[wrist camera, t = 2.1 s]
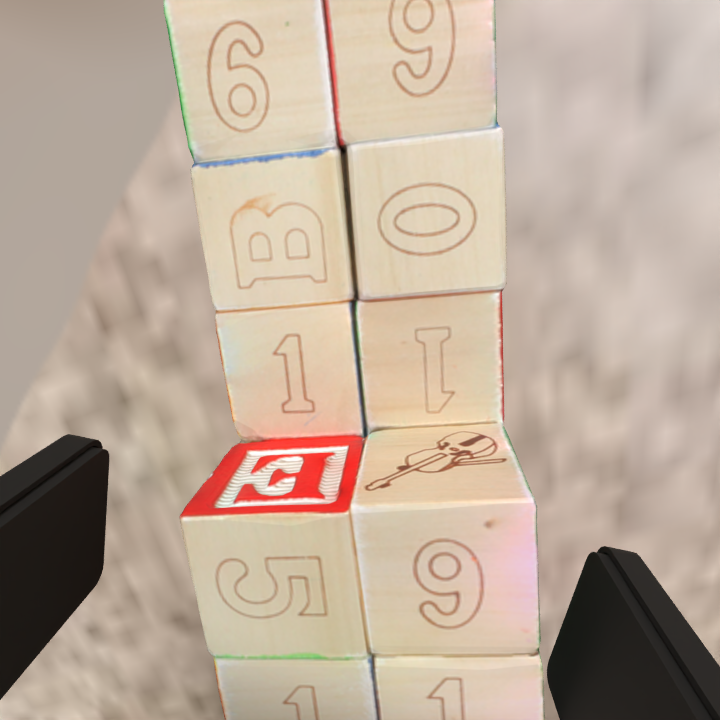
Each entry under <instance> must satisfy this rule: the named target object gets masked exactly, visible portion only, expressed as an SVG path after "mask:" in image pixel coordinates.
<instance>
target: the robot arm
mask: <svg viewBox="0 0 720 720" xmlns="http://www.w3.org/2000/svg"><path fill="white" fill-rule="evenodd" d="M108 473H109V453H108V451H107V450H105V449H102V444H101V442H100V441H99V440H95V439H90V438H85V437H80V436H75V435H69V434H68V435H65V436H63V437H61V438H60V439H58V440H57V441H55V442H54V443H52V444H50V445H49V446H47V447H46V448H44V449H43V450H41V451H39V452H38V453H36V454H35V455H33V456H32V457H30V458H28V459H27V460H25V461H24V462H22V463H21V464H19V465H17V466H16V467H14V468H13V469H11V470H10V471H8V472H6V473H5V474H3V475H2V476H0V700H1V698H2V697H3V696H4V695H5V694H6V692H7V691H8V690H9V689H10V688H11V686H12V685H13V684H14V683H15V682H16V680H17V679H18V678H19V677H20V676H21V675H22V673H23V672H24V671H25V670H26V669H27V667H28V666H29V665H30V664H31V663H32V661H33V660H34V659H35V658H36V657H37V655H38V654H39V653H40V652H41V651H42V649H43V648H44V647H45V646H46V645H47V643H48V642H49V641H50V640H51V639H52V637H53V636H54V635H55V634H56V633H57V631H58V630H59V629H60V628H61V627H62V625H63V624H64V623H65V622H66V621H67V619H68V618H69V617H70V616H71V615H72V613H73V612H74V611H75V610H76V609H77V607H78V606H79V605H80V604H81V603H82V601H83V600H84V599H85V598H86V597H87V596H88V594H89V593H90V592H91V591H92V590H93V588H94V587H95V586H96V584H97V582H98V581H99V579H100V576H101V574H102V570H103V564H104V546H105V527H106V509H107V491H108ZM547 678H548V684H549V688H550V691H551V694H552V697H553V700H554V703H555V706H556V709H557V712H558V715H559V718H560V720H720V666H719V665H718V664H717V662H716V661H715V660H714V658H713V657H712V655H711V654H710V653H709V651H708V650H707V649H706V647H705V646H704V644H703V643H702V642H701V640H700V639H699V637H698V636H697V635H696V633H695V632H694V631H693V629H692V628H691V626H690V625H689V624H688V622H687V621H686V620H685V618H684V617H683V615H682V614H681V613H680V611H679V610H678V608H677V607H676V606H675V604H674V603H673V602H672V600H671V599H670V597H669V596H668V595H667V593H666V592H665V591H664V589H663V588H662V586H661V585H660V584H659V582H658V581H657V579H656V578H655V577H654V575H653V574H652V573H651V571H650V570H649V568H648V567H647V566H646V564H645V563H644V562H643V560H642V559H641V557H640V556H639V555H638V554H637V553H634V552H630V551H625V550H620V549H615V548H611V547H606V546H604V547H601V548H600V549H599V550H598V552H597V553H596V552H591V553H590V554H589V555H588V557H587V559H586V562H585V565H584V567H583V570H582V573H581V575H580V578H579V581H578V584H577V586H576V589H575V592H574V594H573V597H572V600H571V602H570V605H569V608H568V610H567V613H566V616H565V619H564V621H563V624H562V627H561V629H560V632H559V635H558V637H557V640H556V643H555V645H554V648H553V651H552V654H551V656H550V659H549V662H548V667H547Z"/></svg>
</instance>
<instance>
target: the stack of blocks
mask: <svg viewBox="0 0 720 720" xmlns="http://www.w3.org/2000/svg"><path fill="white" fill-rule="evenodd" d="M164 14H165V18H166V23H167V28H168V34H169V40H170V46H171V51H172V57H173V62H174V68H175V74H176V79H177V85H178V90H179V97H180V104H181V110H182V116H183V121H184V126H185V130H186V135H187V140H188V147H189V149H190V152H191V155H192V157H193V160H194V164H193V166H192V168H191V180H192V187H193V192H194V198H195V203H196V209H197V215H198V222H199V228H200V234H201V239H202V245H203V250H204V256H205V261H206V266H207V272H208V278H209V285H210V292H211V297H212V302H213V306H214V308H215V310H216V319H215V322H216V333H217V337H218V343H219V349H220V355H221V361H222V366H223V371H224V376H225V381H226V386H227V391H228V397H229V402H230V407H231V413H232V418H233V422H234V425H235V427H236V430H237V433H238V435H239V437H240V439H241V441H240V443H239V444H237V445H235V446H234V447H232V448H231V450H230V451H229V452H228V453H227V454H226V455H225V456H224V458H223V459H222V461H221V463H220V464H219V465H218V467H217V468H216V469H215V471H214V472H213V473H212V474H211V475H210V476H209V477H208V479H207V481H206V482H205V483H204V484H203V485H202V487H201V488H200V489H199V490H198V492H197V493H196V494H195V496H194V497H193V498H192V499H191V500H190V502H189V503H188V504H187V506H186V507H185V509H184V510H183V512H182V514H181V515H180V523H181V529H182V534H183V539H184V543H185V548H186V553H187V557H188V562H189V567H190V571H191V576H192V580H193V584H194V587H195V591H196V597H197V602H198V608H199V613H200V617H201V622H202V626H203V631H204V635H205V640H206V644H207V649H208V651H209V652H210V653H211V654H212V656H213V657H214V664H215V670H216V677H217V683H218V690H219V694H220V699H221V703H222V708H223V712H224V717H225V720H545V715H544V681H543V668H542V662H541V657H540V652H539V646H540V608H539V572H538V540H537V505H536V502H535V499H534V496H533V495H532V492H531V490H530V487H529V485H528V482H527V480H526V478H525V475H524V473H523V471H522V468H521V466H520V463H519V461H518V459H517V456H516V454H515V451H514V449H513V446H512V444H511V441H510V439H509V436H508V434H507V432H506V430H505V428H504V426H503V423H504V383H503V322H502V290H503V289H504V287H505V285H506V187H505V149H504V132H503V130H502V128H501V127H500V126H499V125H498V123H497V71H496V19H495V0H164Z"/></svg>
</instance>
